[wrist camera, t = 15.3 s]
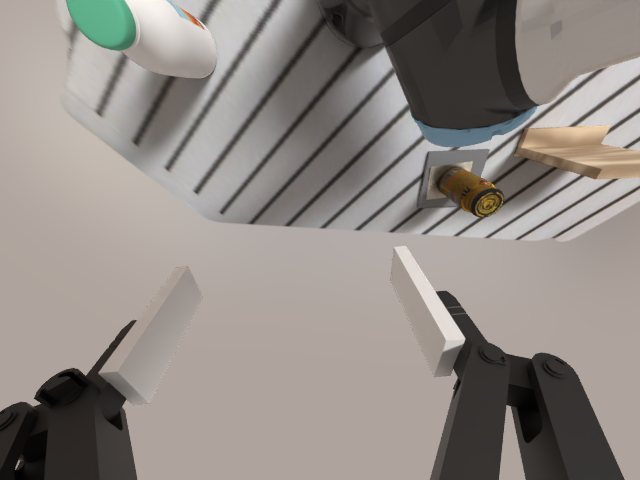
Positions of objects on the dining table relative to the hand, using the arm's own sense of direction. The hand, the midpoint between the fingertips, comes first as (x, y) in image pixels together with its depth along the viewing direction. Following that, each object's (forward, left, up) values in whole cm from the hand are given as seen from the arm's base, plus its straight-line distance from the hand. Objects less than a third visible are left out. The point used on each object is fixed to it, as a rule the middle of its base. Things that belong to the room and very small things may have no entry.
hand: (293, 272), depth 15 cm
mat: (+7, +31, -36) cm, 48 cm away
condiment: (+7, +30, -36) cm, 47 cm away
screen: (0, +51, -36) cm, 62 cm away
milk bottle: (-16, -16, -36) cm, 43 cm away
